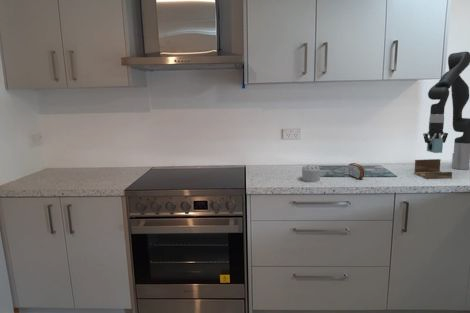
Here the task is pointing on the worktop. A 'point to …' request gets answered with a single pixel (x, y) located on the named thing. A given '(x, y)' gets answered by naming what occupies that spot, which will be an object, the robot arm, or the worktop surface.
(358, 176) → the grey brown half-round slab
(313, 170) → the lumpy-topped squat cylinder
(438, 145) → the cabinet block
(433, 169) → the wall rack
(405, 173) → the worktop surface
